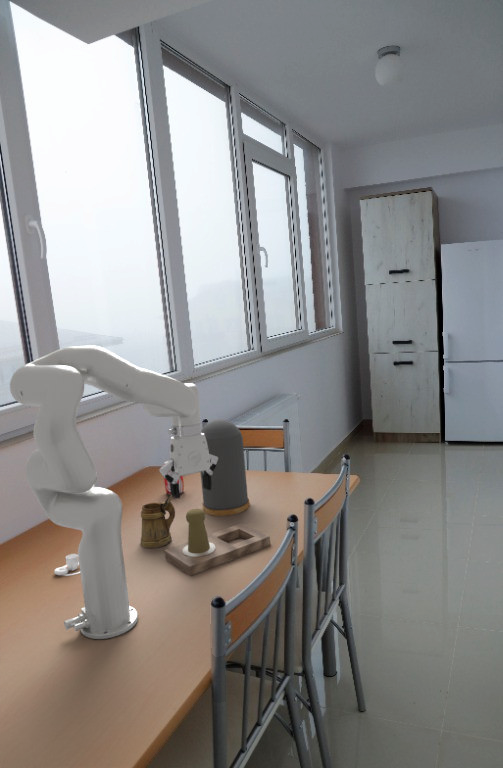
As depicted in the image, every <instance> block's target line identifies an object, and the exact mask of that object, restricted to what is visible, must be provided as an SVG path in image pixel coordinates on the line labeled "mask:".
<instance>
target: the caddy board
mask: <svg viewBox="0 0 503 768" xmlns="http://www.w3.org/2000/svg"><path fill="white" fill-rule="evenodd" d="M207 537H208V541H209V545H210V549H209V550H208V551H206V552H203V553H197V554H196V553H190V552H189V551H188V541H186V542H184V543H181V544H179V545H176V546H172V547H170V548H166V549H164V557H165V560H167V562H170V563H171V564H173V565H174V566H175V567H177V568H178V569H180V570H181V571H183V572H185V573H186V574H188V575H189V576H191V577H192V576H194V575H196V574H199V573H203V572H204V571H206V570H209V569H212V568H215V567H217V566H219V565H223V564H225V563H228V562H230V561H232V560H233V561H234V559H238V558H240V557H242V556H245V555H247V554H250V553H253V552H256V551H259V550H260V549H263V548H266V547H268V546H271V536H269V535H267V534H266V533H263V532H262V531H260V530H256V529H255V528H253V527H251V526H249V525H246V524H244V523H242V522H241V523H238V524H235V525H233V526H230V527H227V528H224V529H220V530H218V531H216V532H213V533H210V534H207ZM238 538H240V539H241V538H242V539H243V540H242V541H240V542H237V543H234V544H230V543H228V542H229V541H232V540H235V539H238Z"/></svg>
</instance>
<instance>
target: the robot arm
mask: <svg viewBox="0 0 503 768" xmlns="http://www.w3.org/2000/svg"><path fill="white" fill-rule="evenodd" d="M9 381H10V382H9V391H10V394H11V396H12V398H13V399H14V400H15V401H16V402H17V403H19V404H21V405H23V406H25V407H26V406H27V407H38V408H39V409H38V412H37V416H36V418H35V422H34V424H33V425H34V426H33V439H34V443H35V446H36V447H37V448H36V449H34V450H33V451H32V452H31V453H30V455H29V456H28V458H27V460H26V463H25V468H24V469H25V470H24V471H25V478H26V481H27V483H28V486H29V488H30V490H31V491H32V493H33V495H34V496H35V498H36V499H37V501H38V503H39V505H40V507H41V508H42V510H43V511H44V513H45V515H46V516H47V517H48V519H49V520H50V521H51V522H53V523H54V524H55V525H57V526H60V527H63V528H64V527H65V528H69V529H74V530H77V531H81V532H82V536H81V540H80V541H79V544H78V548H77V556H78V562H79V566H78V567H79V571H80V573H79V574H80V578H81V579H80V580H81V586H82V587H81V588H82V594H83V595H82V596H83V603H84V607H81V608H80V611H81V612H80V613H78V614H77V616H75V617H70V618H68V619H67V620H66V619H65V620H64V621H63V625H64V628H65V630H67V631H68V630H70V629H74V632H78V631H80V632H81V634H82V635H83V636H85V637H87V638H89V639H95V640H105V639H110V638H111V639H112V638H115V637H118V636H121V635H123V634H125V633H127V632H128V631H130V630H131V629H132V628H134V626H135V625H136V624H137V623H138V620H139V614H138V611H137V610H136V609H135V607H133V606H130V599H129V592H128V591H129V590H128V584H127V583H128V582H127V576H126V566H125V557H124V551H123V550H124V549H123V541H122V540H123V539H122V523H123V522H122V520H123V502H122V500H121V498H120V497H119V495H118V494H117V493H115V492H114V491H112V490H110V489H108V488H104V487H100V486H95V484H96V483H97V480H98V470H97V466H96V464H95V462H94V459H93V457H92V455H91V454H90V452H89V449H88V448H87V446H86V444H85V441H84V440H83V438H82V436H81V434H80V432H79V429H78V426H77V415H78V410H79V408H80V404H81V401H82V399H83V396H84V394H85V393H84V392H85V385H88V386H91V387H94V388H95V389H98V390H101V391H103V392H105V393H107V394H109V395H111V396H113V397H115V398H117V399H119V400H121V401H125V402H129V403H134V404H141V405H142V408H143V410H144V412H145V413H146V414H148V415H149V416H152V417H158V418H171V428H170V429H168V430H167V431H168V434H169V435H172V436H171V437H170V442H169V443H170V444H169V460H170V461H169V462H167V463H166V464H165V465H164V464H163V465H162V466H161V467H160V468H159V470H158V471H159V472H160V474H161V476H162V477H163V479H164V478H165V479H166V480H167V481H168V482H170V490H171V495H172V496H173V497H172V498H175V499H180V496H181V495H180V493H179V484H178V483H177V481H178V479H179V477H180V476H183V477H185V476H189V475H194V474H197V473H201V472H202V471H203V472H204V474H203V475H202V478H203V488H205V489H207V490H211V485H212V482H211V475H212V474H213V471H214V469H215V467H216V464H217V461H218V457H217V456H214V455H211V454H209V450H208V445H207V441H206V437H205V434H204V433H201V430H202V422H201V409H200V396H199V395H200V394H199V388H198V386H197V385H196V384H195V383H188V382H187V383H183V382H181V381H179V380H177V379H175V378H173V377H170V376H168V375H167V376H166V375H164V374H162V373H157V372H155V371H152V370H150V369H149V370H148V369H147V368H143V367H139V366H137V365H135V364H133V363H131V362H129V361H128V360H126V359H125V358H122V357H121V356H119V355H117V354H115V353H114V352H112V351H111V350H108V349H106V348H105V347H102V346H98V345H79V346H78V345H75V346H65V347H61V348H60V349H57V350H55V351H53V352H50V353H48V354H46V355H43V356H41V357H39V358H37V359H35V360H33V361H30V362H28V363H26V364H24V365H22V366H20V367H19V368H18V369H16V371H15V372H14V373H13V374H12V376H11V378H10V380H9ZM210 459H211V463H210ZM168 469H171V472H172V473H171V475H169V474H168V473H167V471H168Z"/></svg>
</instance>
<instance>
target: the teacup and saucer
mask: <svg viewBox="0 0 503 768" xmlns="http://www.w3.org/2000/svg"><path fill="white" fill-rule="evenodd" d="M65 562H66V564H65V565H63V566H61V567H56V568H55V569H54V574H55V575H57V576H65V577H68V576H69V577H70V576H76V575H79V574H81V573H80V570H79V571H78V572H74V571H76V570H77V569H78V567H80V566H79V559H78V553H70V554H68V555H66V556H65ZM69 571H73V573H69Z"/></svg>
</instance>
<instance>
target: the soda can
mask: <svg viewBox="0 0 503 768" xmlns="http://www.w3.org/2000/svg"><path fill="white" fill-rule="evenodd" d="M169 461H170V459H168V460H166V461H164V462H163V466H164V465H165V464H166V463H167V462H169ZM167 473H168V474H169V475H171V473H172V472H171V469H168V471H167ZM163 483H164V484H163V485H164V491H165V493H166V494H168V496H169V495H170V493H171V490H170V482H168V481H167V480H166V479H165V478H163ZM177 483H179V493H181V494H182V493H183V492H184V490H185V485H184V484H185V483H184V476H180V477H179V479H178V481H177Z"/></svg>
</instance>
